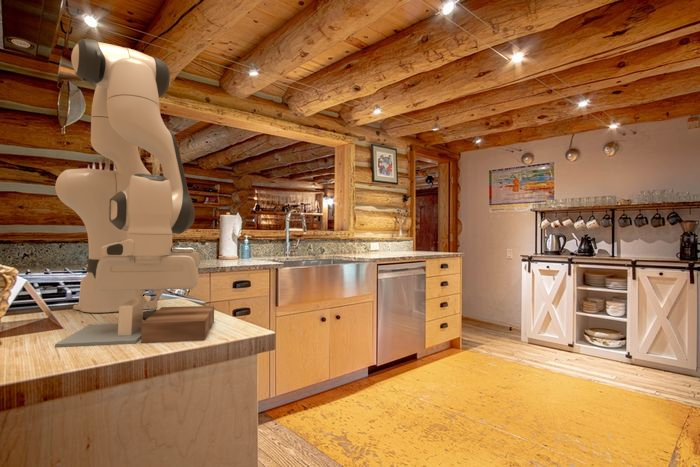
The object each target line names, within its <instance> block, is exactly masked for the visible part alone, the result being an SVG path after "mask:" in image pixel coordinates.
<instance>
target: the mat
mask: <svg viewBox="0 0 700 467" xmlns="http://www.w3.org/2000/svg"><path fill="white" fill-rule="evenodd" d="M141 329H142V327H140V328H139V329H138V330H137V331H136V332H135V333H133V334H132V335H131V336H118V323H107V324H106V323H104V324H103V323H100V324H98V323H97V324H88V325H87V326H84V327H83V328H82V329H80V330H77V331H76V332H74V333H72V334H70V335H69V336H67V337H65V338H63V339H61V340H59V341H58V342H56V343H55V344H54V347H55V348H64V347H83V346H87V347H88V346H107V345H108V346H109V345H126V344H127V345H129V344H132V345H133V344H137V343H138V342H139V341H141Z"/></svg>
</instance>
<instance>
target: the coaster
mask: <svg viewBox="0 0 700 467" xmlns="http://www.w3.org/2000/svg"><path fill="white" fill-rule="evenodd" d="M143 311H144V310H141V303H140V301H139V300H130V301H129V302H127V303H125V304H123V305H121V306H120V307H119V311H118V321H117V322H118V323H117V324H118V336H131V335H132V334H133V333H135V332H136V331H137V330H138V329H139V328H140V327H142V322H144V320H143Z"/></svg>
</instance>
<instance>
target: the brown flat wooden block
mask: <svg viewBox="0 0 700 467" xmlns="http://www.w3.org/2000/svg"><path fill="white" fill-rule="evenodd" d="M157 310H158V311H156V312H155V313H154V314H152V315H151V316H150V317H149V318H147V319H146V320H143V322H142V329H141V339H140V343H141V344H148V343H149V344H150V343H167V342H168V343H170V342H173V343H174V342H190V341H191V342H192V341H206V339H207V337H208V334H209V333H210V330H211V328H212V326H213V325H214V323H215V305H191V306H189V305H187V306H185V305H184V306H162V307H160V308H158V309H157Z"/></svg>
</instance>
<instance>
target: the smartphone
mask: <svg viewBox="0 0 700 467" xmlns="http://www.w3.org/2000/svg"><path fill="white" fill-rule="evenodd" d="M158 310H159V309H156V310H143V321H145V320H146V319H147V318H149V317H150V316H151V315H152V314H154V313H155V312H156V311H158Z"/></svg>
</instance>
